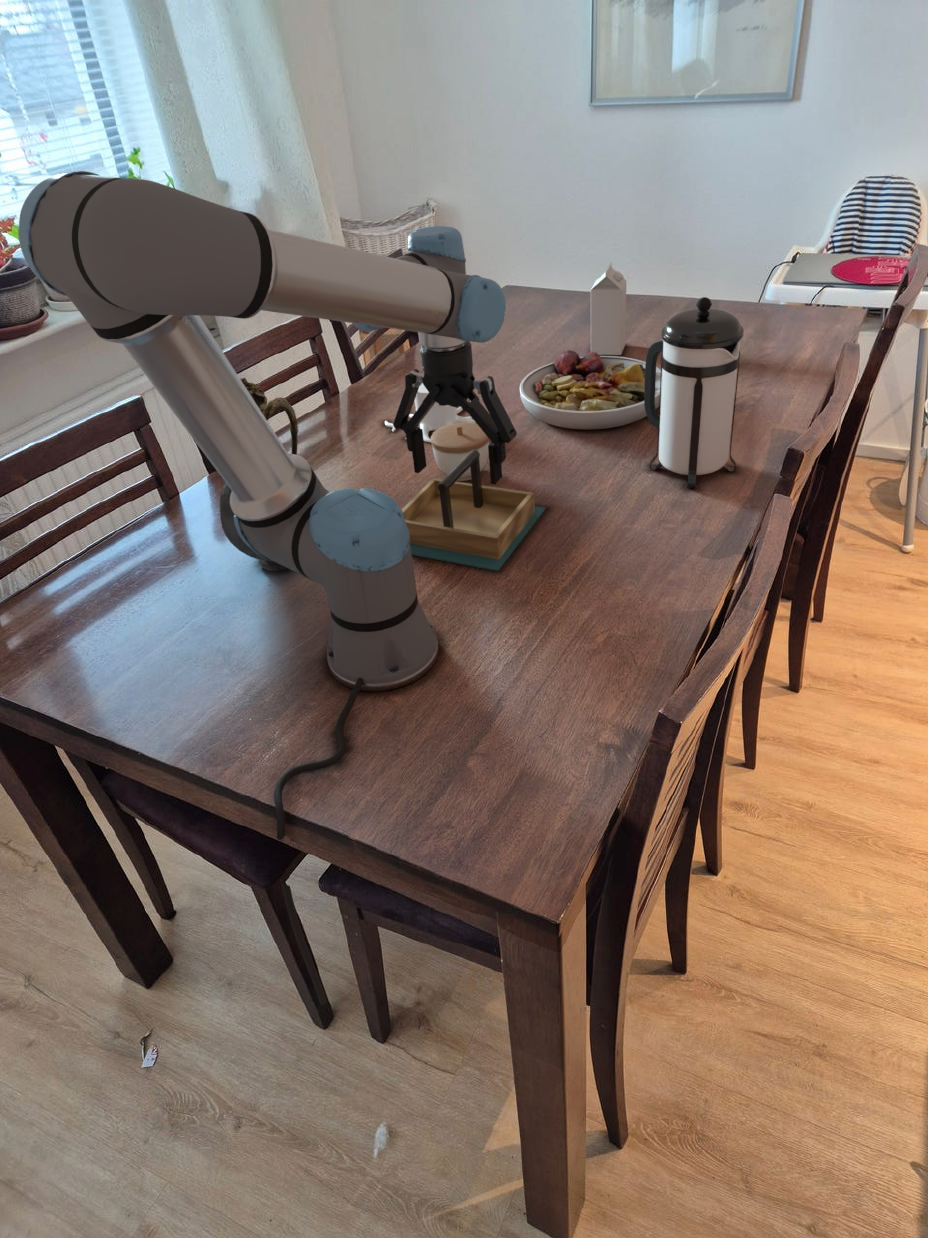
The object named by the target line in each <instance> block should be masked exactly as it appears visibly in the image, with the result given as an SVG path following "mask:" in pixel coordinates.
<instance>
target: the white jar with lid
mask: <svg viewBox="0 0 928 1238" xmlns="http://www.w3.org/2000/svg"><path fill="white" fill-rule="evenodd" d="M430 439H431V443H430V444H431V446H432V447H431V448H432V453H433V457H434V460H435V463H436V465H437V467H438V468H439V469H440V471H441V472H442V473H444V474H445V475H446V476H448V474H449V473H450V472H451V471H452V470H453V469H454V468H455V467H456V466H457V465H458V464H459V463H460V462H461V461H462V460H463V459H464V458H465V457H466V456H467V455H468V454H469V453H470V452H471V451H472V450H477V451H478V452H479V453H480V457H479V463H480V473H481V472H483V470H484V469H485V467H486V466H487V464H488V463H489V451H488V445H489V444H490V443H491V440H490V439H489V438H488V437H487V436H486V434H485V433H484V432H483V431H482V429H481V428H480V427H479V426H478V424H477V423H456V424H450V425H447V426H444V427H441V428H439V429H438V430H434V431H433V432H432V434H431V436H430ZM470 480H471V481H472V479H471V468H470V467H469V468H468V469H467V470H466V472H465V473H464V474H463V475H462V476H461V477H460V478H459V479H458V480H457V482H465V481H466V482H467V481H470Z"/></svg>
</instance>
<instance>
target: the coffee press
mask: <svg viewBox="0 0 928 1238" xmlns="http://www.w3.org/2000/svg"><path fill="white" fill-rule="evenodd" d="M712 304H713V303H712V301H711V299H710V298H708V297H707V296H703V297H700V298H699V299H698V301H697V303H696V305H695V306H696V308H690V309H685V310H682V311H679V312H677V313H675V314H674V315H672V316H671V317H669V319H668V320H667V321H666V323H665V326H664V327H663V328H662V329H661V333H660V334H661V335H660V337H661V340H659V341H656V342H654V343H652V344H651V345H650V347H649V348H648V350H647V353H646V358H645V362H646V365H645V389H644V404H645V411H646V414H647V416H646V417H647V419H648V421H649V423H650V424H651V425H652V426H653V427H654V428H656V429H657V446H656V447H657V448H656V454H655V455H654V456H653V458H652V459H651V460H650V461H649V469H650V470H651V471H657V470H659V469H660V468H661V467H664V468H665V469H667V470H668V471H671V472H672V473H676V474H678V475H685V476H687V486H686V487H687V488H688V489H696V485H697V484H696V482H697V476H703V475H708V474H712V473H715V472H716V471H719V470H720V469H722V468H724V469H725V470H726V471H728V472H729V473H734V472H735V471H736V470H737V462H736V461H735V460H734V458H733V457H732V454H731V453H732V442H733V433H734V432H733V431H734V422H735V411H736V404H737V403H736V402H737V393H738V383H739V371H740V360H741V351H740V345H741V341H742V339H743V337H744V333H745V330H744V327H743V325H741V321H740V319H739V318H738V317H737V316H736V315H735V314H733V313H732V312H730V311H727V310H725V309H721V308H720V309H719V308H714V307H712ZM660 353H661V355H660ZM659 355H660V356H661V359H660V369H661V377H660V399H659V407H658V412H657V409H655V382H656V367H657V362H658V357H659ZM661 378H662V385H661ZM660 400H661V404H660ZM657 457H658V460H659V463H658V464H657V465H653V463H654V462H655V461H656V459H657ZM728 460H730V461H731V463H732V464H733V467H730V466H728V464H727V462H728Z"/></svg>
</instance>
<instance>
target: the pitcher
mask: <svg viewBox="0 0 928 1238" xmlns="http://www.w3.org/2000/svg"><path fill="white" fill-rule="evenodd" d="M240 379H241V381H242V383H243V384H244V386H245V387H246V389H247V390H248V392H249V393H250V395H251V397H252V398H253V400H254V401H255V403H256V404H257V406H258V407H259V409H260V411H261V412H262V414H263V415H264V417H265V418H266V420H267V421H268V422H269V420H270V419H271V417H273V414H274V412H275V411H276V410H278V409H280V408H281V409H283V410H284V412H285V413H286V415H287V417H288V420H289V432H290V439H291V454H295V455H298V442H299V441H298V434H299V426H298V420H297V419H298V418H297V416H296V411H295V410H294V408H293V406H292V405H291V403H289V401H288V400H287V399H286V398H285V397H282V396H281V397H280V396H279V397H275V398H273V399H272V400H269V401H268V397H267V396H266V395H265V391H264V390H263V389H260V388H261V387H262V386H263V385H262V384H261V383H258V384H255V383H253V382H248V380H247V378H246V377H242V378H241V377H240ZM231 492H232V490H231V489H230V488H229V486H228V485H227V484H226V483H225V484H224V486H223V487H222V490H221V492H220V496H219V518H220V524H221V528H222V530H223V533H224V535H225V537H226V538H227V540H228V541H229V542H230V544H232V545H233V546H234V548H236V549H237V550H238V551H239V552H241V553H243V554H244V555H246V556H248V557H250V558H253V559H256V560H258V563H259V565H260V567H261V568H262V569H263V570H266V571H269V572H281V571H286V570H289V569H288V568H287V567H285V566H283V565H281V564H279V563H277V562H274V561H271V560H268V559H266V558H263V557H262V556H260V555H258V554H257V553H256V552H254V551H253V550H252V549H251V548H250V547H249V546H248V545H246V543H245V542H244V541H243V540H242V539H241V537H240V536H239V534H238V532H237V529H236V527H235V523H234V515H235V514H234V513H233V511H232V509H231V506H230V496H231Z"/></svg>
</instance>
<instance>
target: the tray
mask: <svg viewBox="0 0 928 1238" xmlns="http://www.w3.org/2000/svg"><path fill="white" fill-rule="evenodd" d="M479 457H480V453H479V452H478V451H477V450H472V451H471V452H470V453H469V454H468V455H467V456H466V457H465V458H464V459H463V460H462V461H461V462H460V463H459V464H458V465H457V466H456V467H455V468H454V469H453V470H452V471H451V472H450V473H449V474H448V475H446V476H445V478H443V479H442V478H435V477H432V479H430V481H429V482H427V484H426V485H424V487H423V488H422V489H421V490H420V491H418V493H417V494H415V496H414V497H413V498H412V499H410V500H409V502H407V504H405V506H404V507H402V508H401V509H402V511H403V514H404V518H405V522H406V525H407V528H408V530H409V534H410V544H415V545H420V546H426V547H431V548H437V549H442V550H448V551H453V552H459V553H464V554H469V555H475V556H480V557H486V558H491V559H497V560H499V559H500V558H501V557H502V555H503V554H504V553H505V551H506V550H507V549H508V548H509V546H510V545H511V544H512V542H513V541H514V540H515V539H516V537H517V536H518V535H519V533H520V532H521V531H522V530H523V528H524V527H525V526H526V524H527V523H528V522H529V521H530V519H531V518H532V517H533V515H534V514H535V509H534V508H535V507H534V506H535V493H534V492H531V491H523V490H519V489H510V488H503V487H497V486H489V485H484V484H483V485H482V475H481V472H480V463H479ZM469 467H470V468H471V483H469V482H464V481H457V480H458V479H459V478H460V477H461V476H462V475H463V474H464V473H465V472H466V470H467V469H468V468H469Z"/></svg>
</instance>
